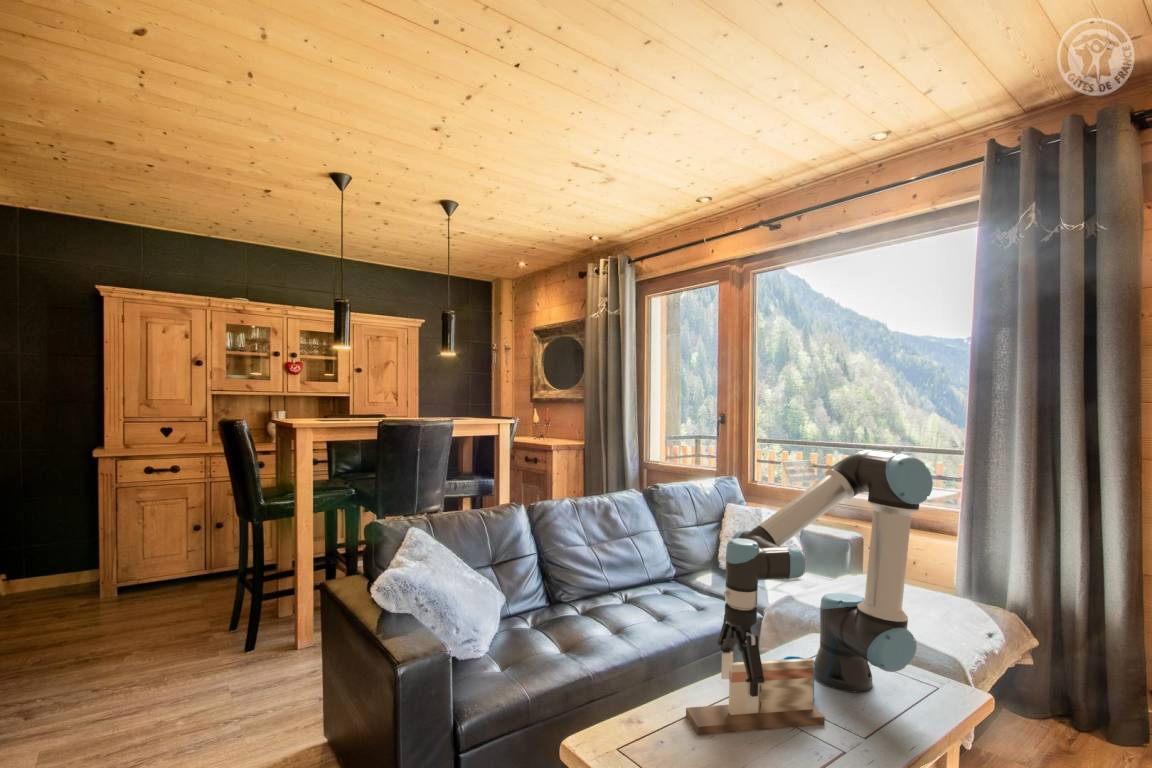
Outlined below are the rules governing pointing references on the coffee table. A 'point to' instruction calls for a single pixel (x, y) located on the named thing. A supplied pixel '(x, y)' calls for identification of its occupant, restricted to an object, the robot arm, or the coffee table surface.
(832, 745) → the coffee table surface
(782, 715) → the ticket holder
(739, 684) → the stub
